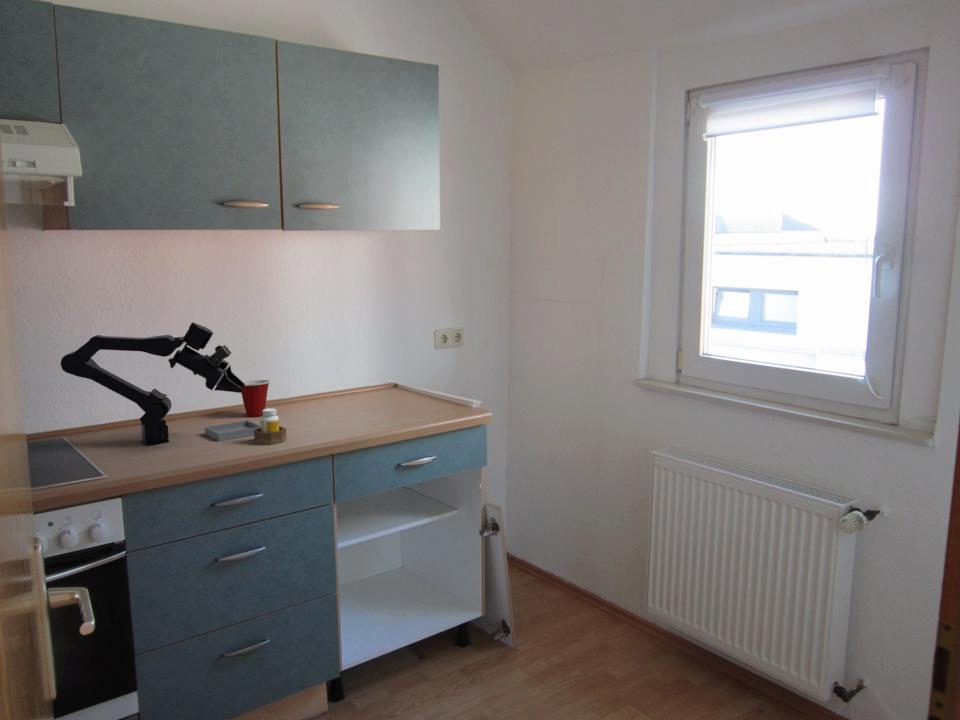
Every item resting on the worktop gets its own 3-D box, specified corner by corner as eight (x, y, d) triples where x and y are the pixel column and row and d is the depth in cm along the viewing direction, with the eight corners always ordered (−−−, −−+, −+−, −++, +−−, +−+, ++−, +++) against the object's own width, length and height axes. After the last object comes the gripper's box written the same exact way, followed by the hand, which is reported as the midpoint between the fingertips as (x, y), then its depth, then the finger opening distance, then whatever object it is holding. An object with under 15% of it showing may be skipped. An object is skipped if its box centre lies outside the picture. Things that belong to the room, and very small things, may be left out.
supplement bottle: (257, 442, 228) (256, 411, 227) (267, 438, 233) (266, 407, 232) (273, 443, 227) (272, 412, 225) (283, 439, 232) (281, 408, 230)
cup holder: (263, 446, 224) (262, 434, 223) (250, 440, 230) (250, 429, 230) (290, 441, 230) (289, 429, 229) (277, 435, 236) (276, 424, 235)
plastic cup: (255, 410, 271) (254, 377, 269) (278, 414, 265) (276, 380, 263) (231, 416, 261) (230, 382, 260) (254, 420, 256) (252, 385, 254)
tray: (219, 441, 229) (218, 433, 229) (205, 434, 238) (204, 426, 237) (262, 433, 238) (262, 426, 238) (247, 427, 247) (247, 420, 246)
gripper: (206, 343, 218) (255, 371, 222) (213, 335, 236) (258, 361, 240) (185, 376, 218) (234, 403, 223) (194, 366, 236) (240, 391, 241)
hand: (242, 388), depth 232 cm, fingers open, 9 cm apart
